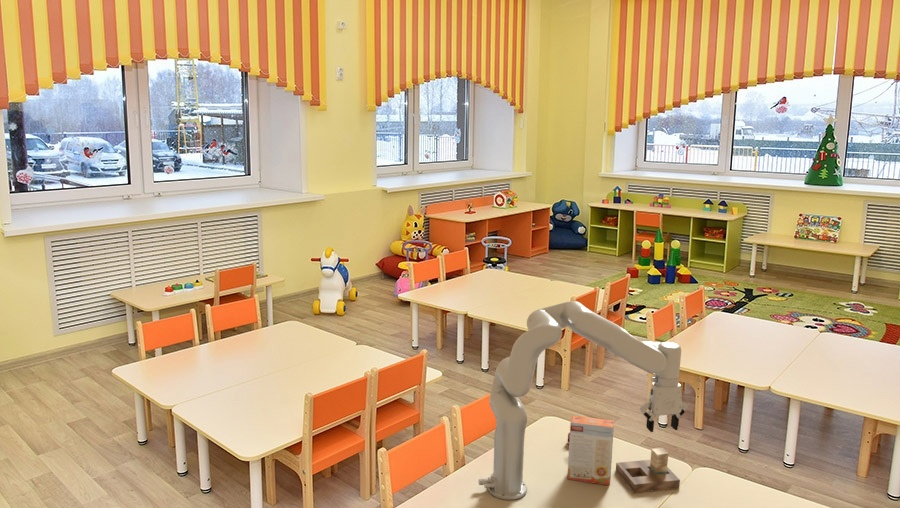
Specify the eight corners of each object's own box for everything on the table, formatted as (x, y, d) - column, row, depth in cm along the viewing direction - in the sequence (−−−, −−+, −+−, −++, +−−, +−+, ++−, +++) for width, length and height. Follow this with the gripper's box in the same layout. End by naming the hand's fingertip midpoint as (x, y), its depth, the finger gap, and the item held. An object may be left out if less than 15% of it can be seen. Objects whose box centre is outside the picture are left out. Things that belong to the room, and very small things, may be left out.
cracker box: (610, 477, 238) (614, 419, 233) (609, 486, 232) (613, 427, 228) (568, 470, 242) (572, 414, 237) (566, 479, 236) (570, 421, 231)
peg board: (634, 492, 229) (634, 484, 228) (615, 470, 242) (616, 462, 241) (679, 488, 232) (679, 479, 231) (658, 466, 245) (659, 458, 245)
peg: (654, 482, 235) (657, 454, 233) (649, 475, 239) (651, 448, 237) (666, 480, 236) (668, 453, 234) (660, 474, 240) (662, 447, 238)
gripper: (647, 386, 225) (643, 436, 229) (696, 382, 228) (691, 432, 232) (636, 377, 232) (632, 426, 236) (684, 373, 235) (680, 422, 239)
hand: (662, 429), depth 234 cm, fingers open, 8 cm apart
